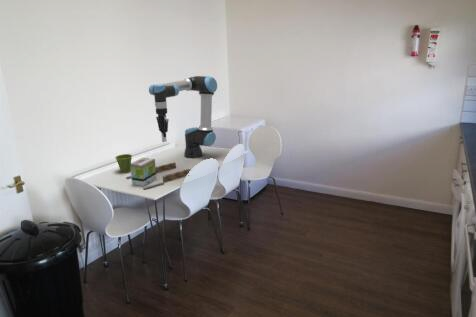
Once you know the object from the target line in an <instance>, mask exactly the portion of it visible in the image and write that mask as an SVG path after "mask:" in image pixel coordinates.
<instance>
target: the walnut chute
mask: <svg viewBox="0 0 476 317" xmlns="http://www.w3.org/2000/svg"><path fill="white" fill-rule="evenodd" d="M176 163H177V162H171V163H166V164H163V165H158V166H156V174H158V173H162V172H167V171H170V170H174V169H176V168H177V164H176ZM189 171H191V169H190V168H187V169H183V170H179V171H176V172H173V173H168V174H166V175H165V174H164V175H162V182H163V183H167V182H172V181H174V180H178V179H181V178H185V177H187V176H186V175H187V174H188V173H189ZM177 178H178V179H177Z"/></svg>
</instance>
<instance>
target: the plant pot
mask: <svg viewBox="0 0 476 317" xmlns="http://www.w3.org/2000/svg"><path fill="white" fill-rule="evenodd" d="M132 157H133V155H132V154H131V153H130V154H129V153H125V154H119V155H116V156H115V157H114V158H115V160H116V162H117V165H118V168H119V171H120V173H129V172H131V166H130V164H131V163H132Z"/></svg>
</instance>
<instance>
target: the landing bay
mask: <svg viewBox="0 0 476 317" xmlns="http://www.w3.org/2000/svg"><path fill="white" fill-rule="evenodd" d="M125 178H126V180H129V179H132V177H131V175H129V176H126V177H125ZM164 185H165V182H163V181H162V182H158V183H155V184H152V185H148V186H147V185H146V186H143V188H142V189H143V190H144V191H146V189H147V190H149V189H153V188H156V187H159V186H164Z"/></svg>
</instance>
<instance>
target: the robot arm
mask: <svg viewBox="0 0 476 317" xmlns="http://www.w3.org/2000/svg"><path fill="white" fill-rule="evenodd" d="M217 90H218V82H217V79H216V78H215V77H213V76H209V75H207V76H205V75H201V76H200V75H195V76H190V77H187V78H184V79H183V80H177V81H171V82H165V83H157V84H151V85H150V86H149V87H148V93H149V94H150V95H151V96H154V97H153V98H154V107H155V114H156V115H157V116H156V117H155V118H156V121H157V126H158V131H159V132H160V134H161V143H166V142H167V133H168V131H169V130H168V129H169V118H167V115H166V114H168V107H167V106H168V105H167V104H168V103H167V99H169V98H172V97H176V96H179V93H180V92H183V91H187V92H189V91H190V92H191V91H192V92H193V91H194V92H198V95H199V96H200V118H199V119H200V121H199V124H200V126H199V127H191V128H190V127H188V128H185V129H184V140H185V149H184V155H183V156H184V158H187V159H195V158H201V157H202V156H203V150H202V148H201V146H204V147H211V146H213V145H214V144H215V142H216V139H217V134H216V133H215V132H214V129H213V127H212V111H213V110H212V109H213V106H212V103H213V102H212V101H213V96H214V95H215V93H216V92H217Z"/></svg>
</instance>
